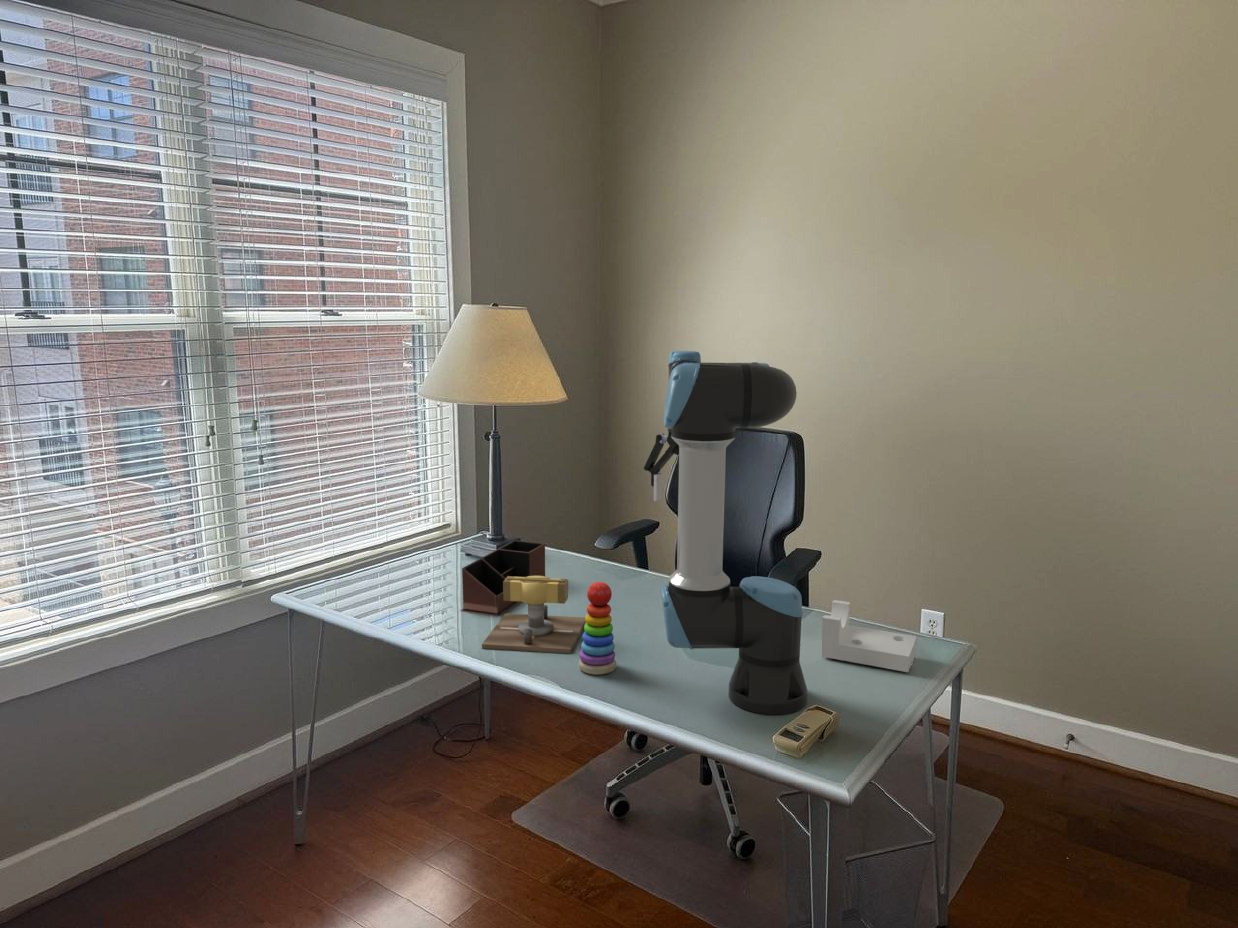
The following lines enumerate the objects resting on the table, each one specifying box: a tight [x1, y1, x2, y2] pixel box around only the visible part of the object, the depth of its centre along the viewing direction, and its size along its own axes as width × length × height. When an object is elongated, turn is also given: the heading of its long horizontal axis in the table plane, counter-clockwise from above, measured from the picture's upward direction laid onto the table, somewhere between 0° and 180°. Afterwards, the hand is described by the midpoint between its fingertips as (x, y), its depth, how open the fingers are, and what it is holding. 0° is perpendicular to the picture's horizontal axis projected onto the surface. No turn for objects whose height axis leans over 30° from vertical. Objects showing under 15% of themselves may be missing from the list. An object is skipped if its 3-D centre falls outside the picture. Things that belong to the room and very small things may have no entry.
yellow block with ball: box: [503, 575, 569, 605], centre depth 204 cm, size 14×7×5 cm, turn 82°
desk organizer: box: [460, 539, 546, 617], centre depth 232 cm, size 10×29×11 cm, turn 160°
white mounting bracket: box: [821, 599, 918, 673], centre depth 192 cm, size 18×10×10 cm, turn 63°
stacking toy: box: [577, 581, 617, 676], centre depth 185 cm, size 8×8×19 cm
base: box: [481, 603, 586, 654], centre depth 205 cm, size 20×20×8 cm
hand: (682, 503), depth 216 cm, fingers open, 13 cm apart
